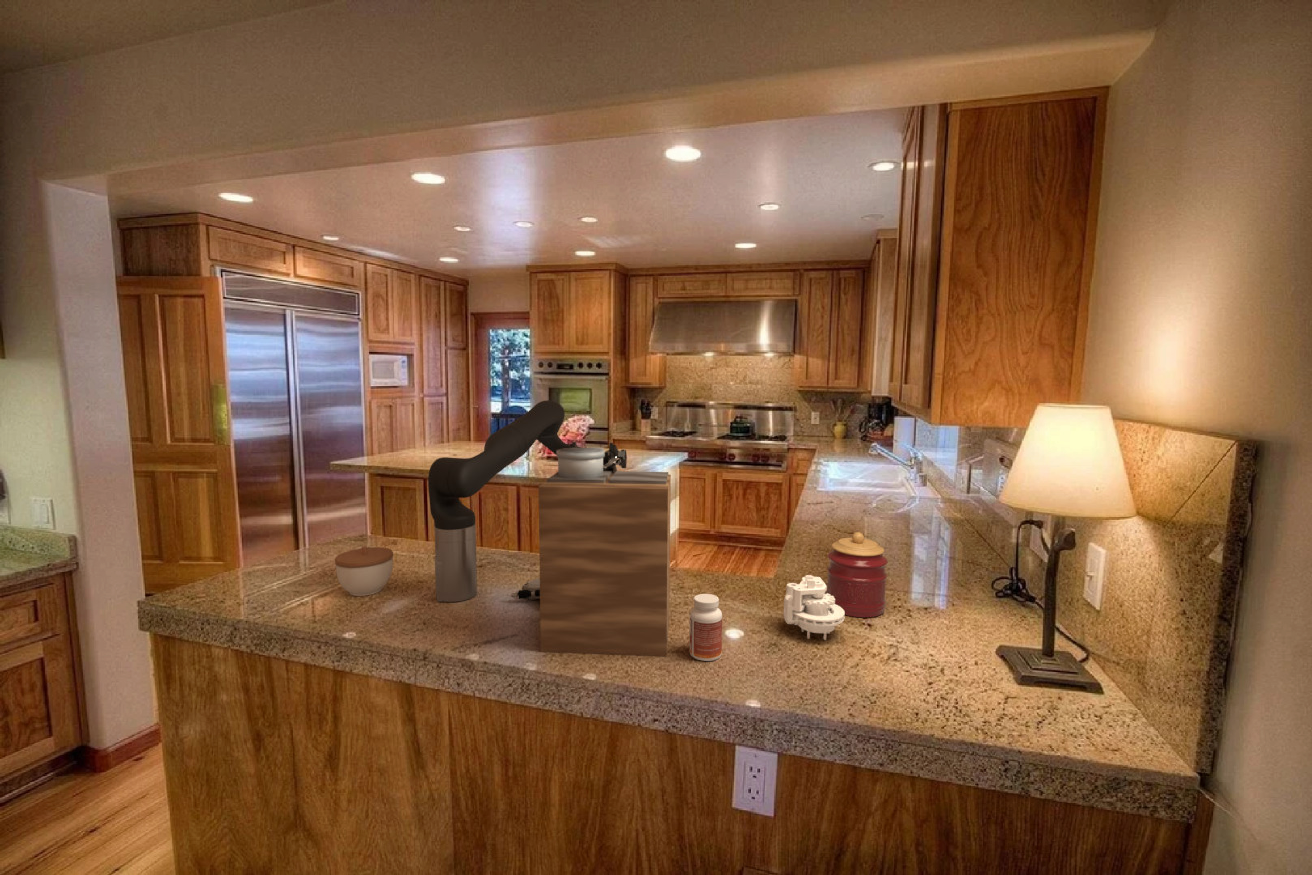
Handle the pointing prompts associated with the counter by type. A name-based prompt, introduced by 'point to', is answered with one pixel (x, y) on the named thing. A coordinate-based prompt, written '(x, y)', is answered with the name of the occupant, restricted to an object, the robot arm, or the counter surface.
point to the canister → (857, 576)
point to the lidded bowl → (364, 570)
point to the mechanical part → (811, 606)
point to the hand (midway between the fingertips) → (592, 446)
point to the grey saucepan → (580, 462)
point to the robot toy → (529, 590)
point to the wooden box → (605, 563)
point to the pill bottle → (705, 628)
